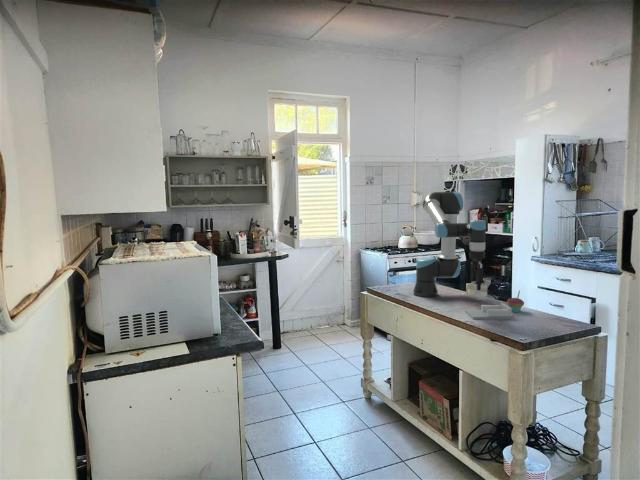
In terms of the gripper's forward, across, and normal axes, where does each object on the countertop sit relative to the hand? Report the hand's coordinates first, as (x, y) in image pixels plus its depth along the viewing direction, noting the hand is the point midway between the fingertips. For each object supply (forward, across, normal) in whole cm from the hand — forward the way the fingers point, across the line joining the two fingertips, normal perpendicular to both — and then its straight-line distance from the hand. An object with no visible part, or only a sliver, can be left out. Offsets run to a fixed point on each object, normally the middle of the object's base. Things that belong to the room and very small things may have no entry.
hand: (476, 294), depth 215 cm
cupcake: (+11, -9, +24) cm, 28 cm away
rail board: (+11, 0, +6) cm, 13 cm away
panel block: (0, 0, 0) cm, 0 cm away
